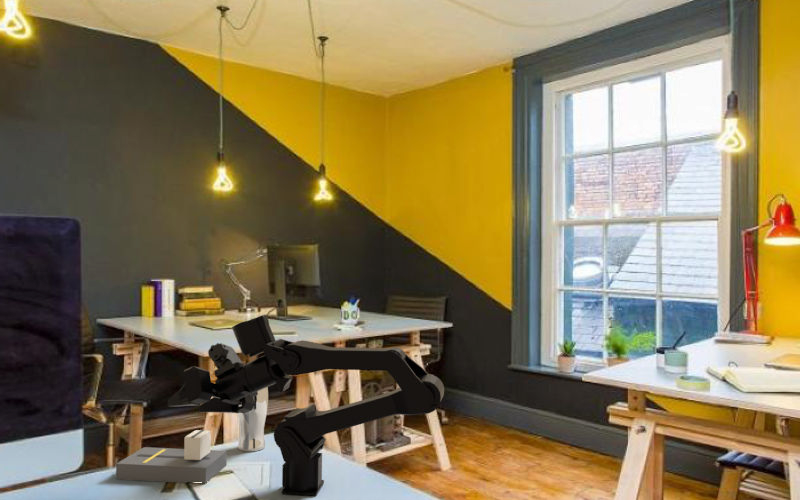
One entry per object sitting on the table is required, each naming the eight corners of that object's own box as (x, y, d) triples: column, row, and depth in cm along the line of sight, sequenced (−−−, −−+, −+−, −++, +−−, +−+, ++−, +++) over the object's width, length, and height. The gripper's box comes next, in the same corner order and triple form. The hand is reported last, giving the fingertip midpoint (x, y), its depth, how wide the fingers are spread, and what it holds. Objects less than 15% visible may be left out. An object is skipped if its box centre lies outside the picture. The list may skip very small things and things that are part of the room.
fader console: (226, 465, 120) (226, 450, 120) (205, 483, 110) (205, 467, 111) (143, 461, 122) (144, 446, 122) (116, 479, 112) (116, 463, 112)
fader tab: (210, 451, 118) (210, 429, 118) (199, 460, 113) (200, 437, 113) (195, 451, 119) (195, 429, 119) (184, 459, 114) (184, 436, 114)
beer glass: (256, 440, 137) (257, 376, 137) (273, 447, 132) (274, 381, 133) (229, 447, 132) (231, 381, 132) (246, 454, 127) (247, 385, 128)
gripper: (269, 348, 123) (206, 376, 125) (217, 326, 106) (146, 359, 109) (280, 398, 118) (214, 426, 120) (227, 384, 101) (152, 416, 104)
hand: (184, 406), depth 113 cm, fingers open, 9 cm apart
